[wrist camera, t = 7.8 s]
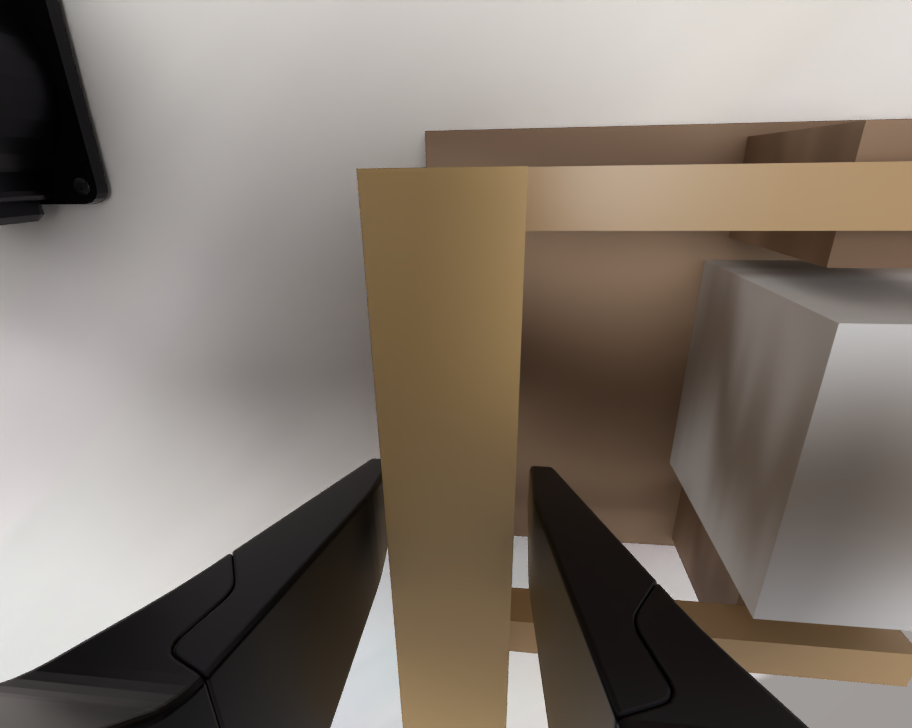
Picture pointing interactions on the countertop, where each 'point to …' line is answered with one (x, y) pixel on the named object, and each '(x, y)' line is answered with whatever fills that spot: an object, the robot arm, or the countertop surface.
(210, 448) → the countertop surface
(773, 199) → the wooden c-shaped bracket
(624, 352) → the display stand
